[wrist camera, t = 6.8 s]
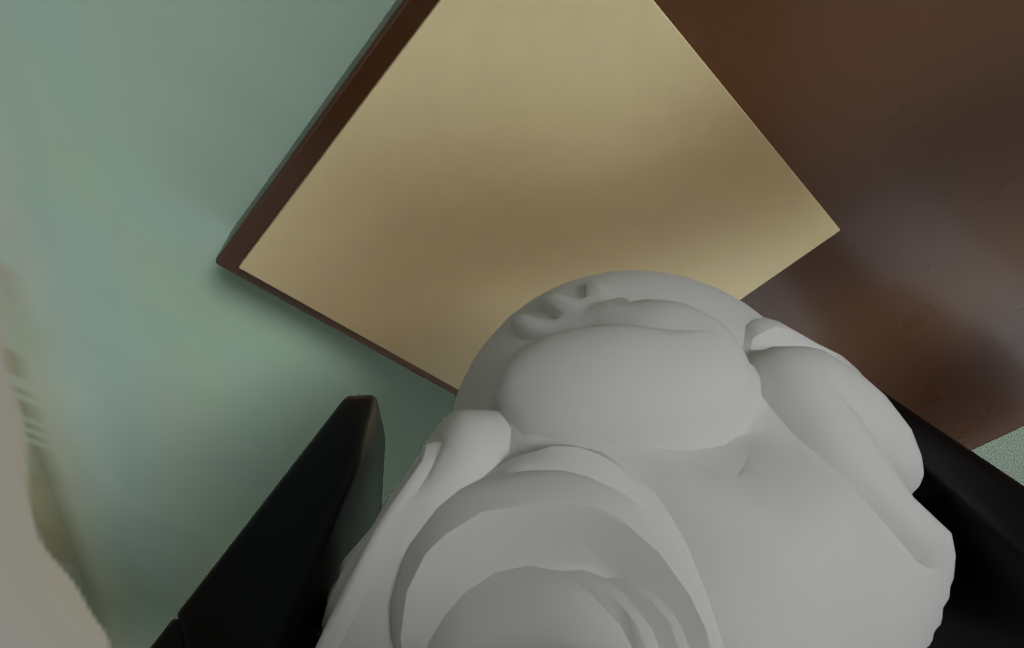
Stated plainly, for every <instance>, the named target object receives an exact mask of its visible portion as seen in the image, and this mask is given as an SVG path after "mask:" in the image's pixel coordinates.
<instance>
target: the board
mask: <svg viewBox="0 0 1024 648" xmlns="http://www.w3.org/2000/svg"><path fill="white" fill-rule="evenodd" d="M216 263H217V264H218V265H220V266H221V267H223V268H225V269H227V270H229V271H231V272H232V273H234V274H236V275H238V276H240V277H241V278H243V279H245V280H247V281H249V282H251V283H252V284H254V285H256V286H258V287H260V288H262V289H263V290H265V291H267V292H269V293H271V294H272V295H274V296H276V297H278V298H280V299H282V300H283V301H285V302H287V303H289V304H291V305H293V306H294V307H296V308H298V309H300V310H302V311H303V312H305V313H307V314H309V315H311V316H313V317H314V318H316V319H318V320H320V321H322V322H324V323H325V324H327V325H329V326H331V327H333V328H334V329H336V330H338V331H340V332H342V333H344V334H345V335H347V336H349V337H351V338H353V339H354V340H356V341H358V342H360V343H362V344H364V345H365V346H367V347H369V348H371V349H373V350H375V351H376V352H378V353H380V354H382V355H384V356H385V357H387V358H389V359H391V360H393V361H395V362H396V363H398V364H400V365H402V366H404V367H406V368H407V369H409V370H411V371H413V372H415V373H416V374H418V375H420V376H422V377H424V378H426V379H427V380H429V381H431V382H433V383H435V384H436V385H438V386H440V387H442V388H444V389H446V390H447V391H449V392H451V393H453V394H455V395H457V393H458V390H459V387H460V384H461V383H462V381H463V379H464V377H465V375H466V373H467V371H468V369H469V367H470V365H471V364H472V362H473V360H474V358H475V356H476V355H477V354H478V352H479V351H480V349H481V348H482V347H483V345H484V344H485V342H486V341H487V340H488V339H489V338H490V337H491V335H492V334H493V333H494V332H495V331H496V330H497V329H498V328H499V327H500V326H501V325H502V324H503V323H504V321H505V320H506V319H507V318H508V317H509V316H510V315H512V314H513V313H514V312H516V311H517V310H518V309H520V308H521V307H523V306H524V305H525V304H527V303H528V302H529V301H531V300H532V299H534V298H536V297H537V296H539V295H541V294H543V293H545V292H547V291H549V290H551V289H553V288H555V287H557V286H560V285H562V284H564V283H566V282H570V281H573V280H576V279H579V278H582V277H585V276H590V275H595V274H600V273H606V272H611V271H633V270H642V271H653V272H664V273H669V274H674V275H679V276H684V277H688V278H691V279H694V280H696V281H699V282H702V283H705V284H708V285H711V286H714V287H716V288H718V289H720V290H722V291H724V292H725V293H727V294H729V295H731V296H733V297H735V298H736V299H738V300H740V301H742V302H744V303H745V304H747V305H748V306H749V307H751V308H752V309H753V310H755V311H756V312H757V313H759V314H760V315H761V316H763V317H764V318H769V319H772V320H775V321H779V322H781V323H782V324H784V325H786V326H788V327H789V328H791V329H793V330H795V331H796V332H798V333H800V334H802V335H803V336H805V337H807V338H809V339H810V340H812V341H814V342H816V343H817V344H820V345H822V346H824V347H826V348H828V349H830V350H832V351H834V352H836V353H838V354H840V355H841V356H843V357H844V358H845V359H846V360H847V361H849V362H850V363H851V364H852V365H853V366H854V367H855V368H856V369H857V370H859V371H860V372H861V374H862V375H863V376H864V377H865V378H866V379H867V380H868V381H869V382H871V383H872V384H873V385H874V386H875V387H877V388H878V389H880V390H881V391H883V392H884V393H886V394H887V395H889V396H890V397H892V398H893V399H895V400H896V401H898V402H899V403H901V404H902V405H904V406H905V407H907V408H908V409H910V410H911V411H913V412H914V413H916V414H917V415H919V416H920V417H922V418H923V419H925V420H926V421H928V422H929V423H931V424H932V425H934V426H935V427H936V428H938V429H939V430H941V431H942V432H944V433H945V434H947V435H948V436H950V437H951V438H953V439H954V440H956V441H957V442H959V443H960V444H962V445H963V446H965V447H966V448H968V449H969V450H973V449H975V448H977V447H979V446H981V445H984V444H986V443H988V442H990V441H992V440H994V439H997V438H999V437H1001V436H1003V435H1005V434H1007V433H1010V432H1012V431H1014V430H1016V429H1018V428H1020V427H1023V426H1024V0H397V1H396V2H395V3H394V5H393V6H392V8H391V9H390V10H389V12H388V13H387V15H386V16H385V17H384V19H383V20H382V22H381V23H380V24H379V26H378V27H377V29H376V30H375V31H374V33H373V34H372V36H371V37H370V38H369V40H368V41H367V43H366V44H365V45H364V47H363V48H362V50H361V51H360V52H359V54H358V55H357V57H356V58H355V59H354V61H353V62H352V64H351V65H350V66H349V68H348V69H347V71H346V72H345V73H344V75H343V76H342V78H341V79H340V80H339V82H338V83H337V85H336V86H335V87H334V89H333V90H332V92H331V93H330V94H329V96H328V97H327V99H326V100H325V101H324V103H323V104H322V106H321V107H320V108H319V110H318V111H317V113H316V114H315V115H314V117H313V118H312V120H311V121H310V122H309V124H308V125H307V126H306V128H305V129H304V131H303V132H302V133H301V135H300V136H299V138H298V139H297V140H296V142H295V143H294V145H293V146H292V147H291V149H290V150H289V152H288V153H287V154H286V156H285V157H284V159H283V160H282V161H281V163H280V164H279V166H278V167H277V168H276V170H275V171H274V173H273V174H272V175H271V177H270V178H269V180H268V181H267V182H266V184H265V185H264V187H263V188H262V189H261V191H260V192H259V194H258V195H257V196H256V198H255V199H254V201H253V202H252V203H251V205H250V206H249V208H248V209H247V210H246V212H245V213H244V215H243V216H242V217H241V219H240V220H239V222H238V223H237V224H236V226H235V227H234V229H233V230H232V231H231V233H230V235H229V237H228V238H227V240H226V242H225V244H224V246H223V247H222V249H221V251H220V253H219V254H218V256H217V258H216Z"/></svg>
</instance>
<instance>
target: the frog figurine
mask: <svg viewBox="0 0 1024 648" xmlns="http://www.w3.org/2000/svg"><path fill="white" fill-rule="evenodd" d="M923 476H924V468H923V462H922V456H921V453H920V450H919V448H918V445H917V443H916V440H915V437H914V435H913V432H912V429H911V428H910V427H909V425H908V424H907V423H906V421H905V420H904V419H903V418H902V416H901V415H900V414H899V412H898V411H897V410H896V408H895V407H894V406H893V404H892V403H891V402H890V401H889V399H888V398H887V397H886V396H885V395H884V394H883V393H882V392H881V391H880V390H879V389H877V388H876V387H875V386H874V385H873V384H872V383H871V382H869V381H868V380H867V379H866V378H865V377H864V376H863V375H862V374H861V372H860V371H859V370H857V369H856V368H855V367H854V366H853V365H852V364H851V363H850V362H849V361H847V360H846V359H845V358H844V357H843V356H841V355H840V354H838V353H836V352H834V351H832V350H830V349H828V348H826V347H824V346H822V345H820V344H817V343H816V342H814V341H812V340H810V339H809V338H807V337H805V336H803V335H802V334H800V333H798V332H796V331H795V330H793V329H791V328H789V327H788V326H786V325H784V324H782V323H781V322H779V321H775V320H772V319H769V318H764V317H763V316H761V315H760V314H759V313H757V312H756V311H755V310H753V309H752V308H751V307H749V306H748V305H747V304H745V303H744V302H742V301H740V300H738V299H736V298H735V297H733V296H731V295H729V294H727V293H725V292H724V291H722V290H720V289H718V288H716V287H714V286H711V285H708V284H705V283H702V282H699V281H696V280H694V279H691V278H688V277H684V276H679V275H674V274H669V273H664V272H653V271H642V270H633V271H611V272H606V273H600V274H595V275H590V276H585V277H582V278H579V279H576V280H573V281H570V282H566V283H564V284H562V285H560V286H557V287H555V288H553V289H551V290H549V291H547V292H545V293H543V294H541V295H539V296H537V297H536V298H534V299H532V300H531V301H529V302H528V303H527V304H525V305H524V306H523V307H521V308H520V309H518V310H517V311H516V312H514V313H513V314H512V315H510V316H509V317H508V318H507V319H506V320H505V321H504V323H503V324H502V325H501V326H500V327H499V328H498V329H497V330H496V331H495V332H494V333H493V334H492V335H491V337H490V338H489V339H488V340H487V341H486V342H485V344H484V345H483V347H482V348H481V349H480V351H479V352H478V354H477V355H476V356H475V358H474V360H473V362H472V364H471V365H470V367H469V369H468V371H467V373H466V375H465V377H464V379H463V381H462V383H461V384H460V387H459V390H458V393H457V396H456V399H455V402H454V405H453V408H452V412H451V413H449V414H448V415H447V416H446V417H445V418H444V419H443V420H442V421H440V422H439V423H438V424H437V425H436V426H435V428H434V429H433V431H432V433H431V434H430V436H429V438H428V440H427V441H426V443H425V445H423V446H422V448H421V451H420V453H419V454H418V456H417V457H416V459H415V460H414V462H413V463H412V465H411V467H410V468H409V470H408V471H407V473H406V474H405V476H404V478H403V479H402V481H401V482H400V483H399V484H398V485H397V486H396V487H395V488H394V489H393V491H392V492H391V494H390V496H389V497H388V499H387V501H386V502H385V504H384V505H383V507H382V509H381V511H380V513H379V515H378V517H377V519H376V521H375V523H374V524H373V526H372V527H371V529H370V530H369V531H368V532H367V533H366V534H365V536H364V537H363V538H362V539H361V540H360V541H359V543H358V544H357V545H356V546H355V547H354V548H353V549H352V550H351V552H350V553H349V554H348V555H347V556H346V557H345V558H344V559H343V561H342V563H341V565H340V567H339V576H338V579H337V580H336V582H335V583H334V584H333V586H332V587H331V588H330V591H329V594H328V598H327V606H326V609H325V613H324V616H323V620H322V624H321V626H322V635H321V637H320V639H319V641H318V643H317V645H316V647H315V648H927V647H928V646H929V645H930V643H931V642H932V641H933V634H934V632H935V630H936V629H937V628H938V627H939V626H940V625H941V620H942V614H943V607H944V605H945V604H946V602H947V601H948V599H949V596H950V586H951V583H952V581H953V579H954V569H955V558H956V554H955V548H954V543H953V538H952V533H951V532H950V531H949V530H948V529H947V528H946V527H945V526H944V525H942V524H941V523H940V522H939V521H938V520H937V519H936V518H935V517H934V516H933V515H932V514H931V513H930V512H929V511H928V510H926V509H925V508H924V507H923V506H922V505H921V504H920V503H919V502H918V501H917V500H916V499H915V498H914V497H913V496H912V493H913V492H914V491H915V490H916V489H917V488H918V487H919V486H920V483H921V481H922V478H923Z"/></svg>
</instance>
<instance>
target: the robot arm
mask: <svg viewBox="0 0 1024 648" xmlns="http://www.w3.org/2000/svg"><path fill="white" fill-rule="evenodd" d="M876 388H877V387H876ZM877 389H878V388H877ZM879 390H880V389H879ZM880 391H881V390H880ZM881 392H882V393H883V394H884V395H885V396H886V397H887V398H888V399H889V401H890V402H891V403H892V404H893V406H894V407H895V408H896V410H897V411H898V412H899V414H900V415H901V416H902V418H903V419H904V420H905V421H906V423H907V424H908V425H909V427H910V428H911V429H912V432H913V435H914V437H915V440H916V443H917V445H918V448H919V450H920V453H921V456H922V462H923V468H924V476H923V478H922V481H921V483H920V486H919V487H918V488H917V489H916V490H915V491H914V492H913V493H912V496H913V497H914V498H915V499H916V500H917V501H918V502H919V503H920V504H921V505H922V506H923V507H924V508H925V509H926V510H928V511H929V512H930V513H931V514H932V515H933V516H934V517H935V518H936V519H937V520H938V521H939V522H940V523H941V524H942V525H944V526H945V527H946V528H947V529H948V530H949V531H950V532H951V533H952V538H953V543H954V548H955V554H956V558H955V569H954V579H953V581H952V583H951V586H950V596H949V599H948V601H947V602H946V604H945V605H944V607H943V614H942V620H941V625H940V626H939V627H938V628H937V629H936V630H935V632H934V634H933V641H932V642H931V643H930V645H929V646H928V647H927V648H1024V486H1023V485H1021V484H1020V483H1018V482H1017V481H1015V480H1014V479H1012V478H1011V477H1009V476H1008V475H1006V474H1005V473H1003V472H1002V471H1000V470H999V469H997V468H996V467H995V466H993V465H992V464H990V463H989V462H987V461H986V460H984V459H983V458H981V457H980V456H978V455H977V454H975V453H974V452H972V451H971V450H969V449H968V448H966V447H965V446H963V445H962V444H960V443H959V442H957V441H956V440H954V439H953V438H951V437H950V436H948V435H947V434H945V433H944V432H942V431H941V430H939V429H938V428H936V427H935V426H934V425H932V424H931V423H929V422H928V421H926V420H925V419H923V418H922V417H920V416H919V415H917V414H916V413H914V412H913V411H911V410H910V409H908V408H907V407H905V406H904V405H902V404H901V403H899V402H898V401H896V400H895V399H893V398H892V397H890V396H889V395H887V394H886V393H884V392H883V391H881ZM384 453H385V434H384V428H383V424H382V419H381V415H380V410H379V406H378V402H377V399H376V398H375V397H374V396H372V395H358V396H348V397H346V398H345V399H344V400H343V401H342V402H341V403H340V405H339V406H338V407H337V409H336V410H335V411H334V412H333V414H332V415H331V416H330V418H329V419H328V420H327V421H326V423H325V424H324V425H323V427H322V428H321V429H320V430H319V432H318V433H317V434H316V436H315V437H314V438H313V439H312V441H311V442H310V443H309V445H308V446H307V447H306V449H305V450H304V451H303V452H302V454H301V455H300V456H299V458H298V459H297V460H296V461H295V463H294V464H293V465H292V467H291V468H290V469H289V470H288V472H287V473H286V474H285V476H284V477H283V478H282V479H281V481H280V482H279V483H278V485H277V486H276V487H275V488H274V490H273V491H272V492H271V494H270V495H269V496H268V497H267V499H266V500H265V501H264V503H263V504H262V505H261V507H260V508H259V509H258V510H257V512H256V513H255V514H254V516H253V517H252V518H251V519H250V521H249V522H248V523H247V525H246V526H245V527H244V528H243V530H242V531H241V532H240V534H239V535H238V536H237V537H236V539H235V540H234V541H233V543H232V544H231V545H230V546H229V548H228V549H227V550H226V552H225V553H224V554H223V555H222V557H221V558H220V559H219V561H218V562H217V563H216V565H215V566H214V567H213V568H212V570H211V571H210V572H209V574H208V575H207V576H206V577H205V579H204V580H203V581H202V583H201V584H200V585H199V586H198V588H197V589H196V590H195V592H194V593H193V594H192V595H191V597H190V598H189V599H188V601H187V602H186V603H185V604H184V606H183V607H182V608H181V610H180V611H179V612H178V619H173V620H172V621H171V622H170V623H169V625H168V626H167V627H166V628H165V630H164V631H163V632H162V634H161V635H160V636H159V638H158V639H157V640H156V641H155V643H154V644H153V645H152V647H151V648H315V647H316V645H317V643H318V641H319V639H320V637H321V635H322V626H321V624H322V620H323V616H324V613H325V609H326V606H327V598H328V594H329V591H330V588H331V587H332V586H333V584H334V583H335V582H336V580H337V579H338V576H339V567H340V565H341V563H342V561H343V559H344V558H345V557H346V556H347V555H348V554H349V553H350V552H351V550H352V549H353V548H354V547H355V546H356V545H357V544H358V543H359V541H360V540H361V539H362V538H363V537H364V536H365V534H366V533H367V532H368V531H369V530H370V529H371V527H372V526H373V524H374V523H375V521H376V519H377V517H378V515H379V513H380V511H381V507H382V489H383V471H384Z"/></svg>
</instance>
